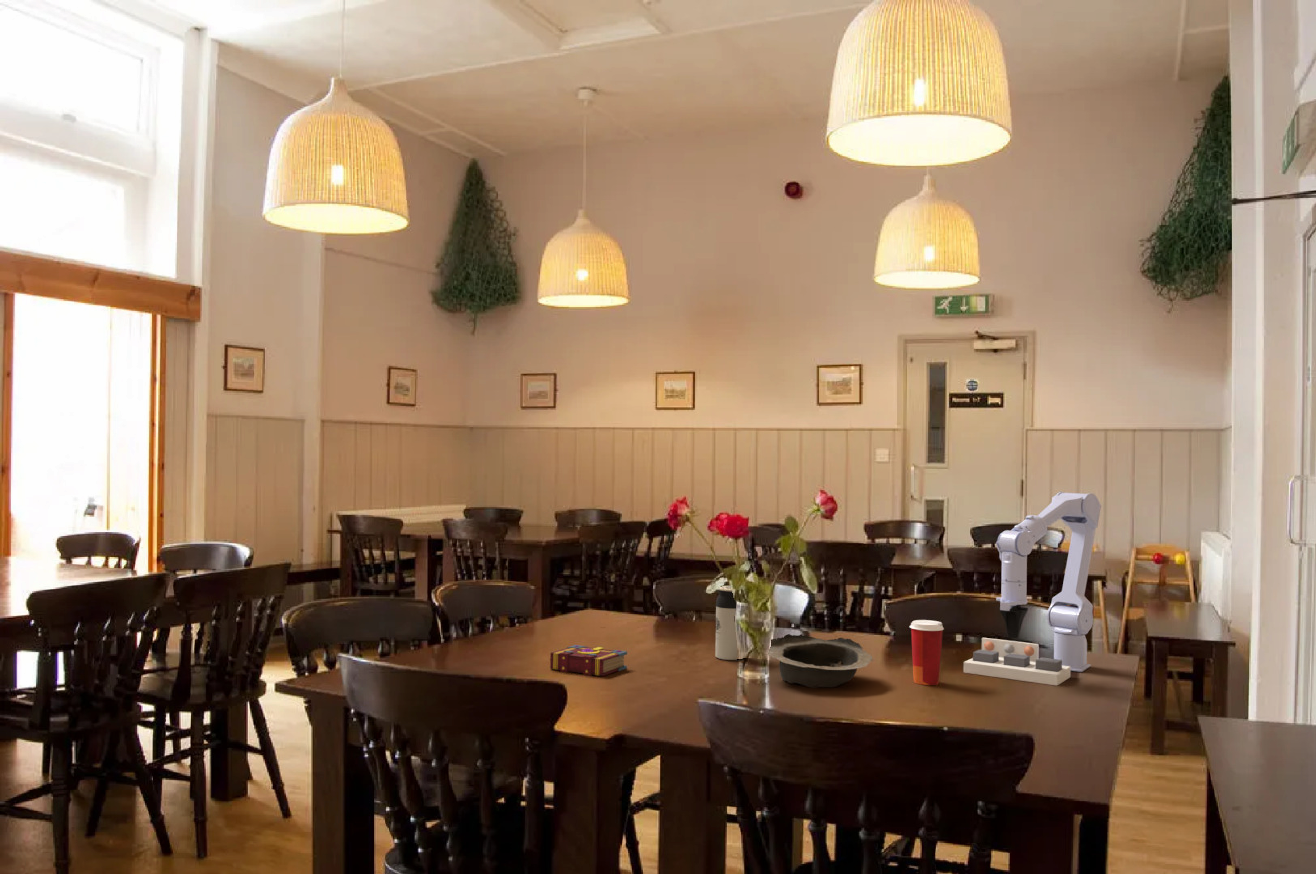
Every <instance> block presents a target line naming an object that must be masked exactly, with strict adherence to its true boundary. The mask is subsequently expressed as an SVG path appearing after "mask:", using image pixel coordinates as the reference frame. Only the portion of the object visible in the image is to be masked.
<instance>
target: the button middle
mask: <svg viewBox="0 0 1316 874" xmlns="http://www.w3.org/2000/svg"><path fill="white" fill-rule="evenodd" d="M1004 665H1009V666H1016V667H1024V668H1025V667H1027V666H1029V665H1030V656H1027V655H1019V654H1011V653H1010V654H1008V655H1005V656H1004Z"/></svg>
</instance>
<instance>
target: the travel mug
mask: <svg viewBox="0 0 1316 874" xmlns="http://www.w3.org/2000/svg"><path fill="white" fill-rule="evenodd" d="M721 586H722V587H720V586H719V587H720V589H717V590H718V596H717V598H716V601H715V608H716V609H715V646H714V647H715V648H714V650H715V651H714V653H715V657H716V658H717V659H719V660H723V661H738V660H737V640H736V634H735V622H734V616H735V609H736V602H735V600H734V598H733V593H732V589H731V586H732V585H721Z"/></svg>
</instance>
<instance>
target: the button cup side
mask: <svg viewBox="0 0 1316 874" xmlns="http://www.w3.org/2000/svg"><path fill="white" fill-rule="evenodd" d="M1036 669H1039V670H1046V671H1054V672H1058V671H1060V670H1062V660H1058V659H1054V658H1050V657H1040V658H1039V659H1037V660H1036Z"/></svg>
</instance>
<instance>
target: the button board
mask: <svg viewBox="0 0 1316 874" xmlns="http://www.w3.org/2000/svg"><path fill="white" fill-rule="evenodd" d="M1071 672H1072V671H1071V667H1070V666H1062V670H1060V671H1058V672H1054V671H1046V670H1039V669H1036V662H1031V661H1030V665H1029V666H1027V667H1025V668H1024V667H1016V666H1009V665H1004V658H1000V657H999V661H997V662H995V663H986V662H979V661H973V657H972V658H970V659H968V660H965V661H963V673H964V674H972V675H980V676H986V677H992V678H993V677H994V678H1000V679H1007V680H1014V681H1020V682H1021V681H1023V682H1030V683H1036V684H1043V685H1050V686H1056V687H1057V686H1059V685H1060V684H1062V683H1063V682H1065V681H1066V680H1068V679H1070V678H1071Z"/></svg>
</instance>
